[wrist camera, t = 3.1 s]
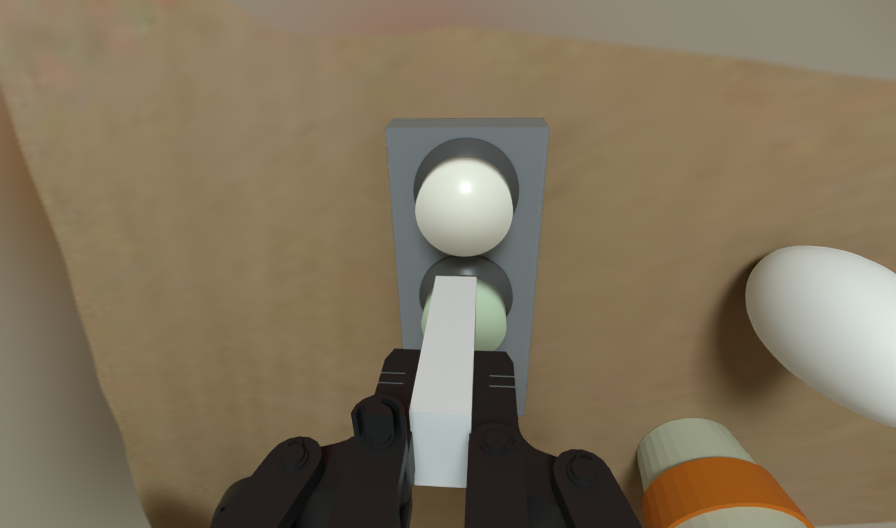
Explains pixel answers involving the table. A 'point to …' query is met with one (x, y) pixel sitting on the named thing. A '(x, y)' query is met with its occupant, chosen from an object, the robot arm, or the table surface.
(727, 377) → the table surface
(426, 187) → the cream button
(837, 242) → the table surface
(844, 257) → the sauce bottle
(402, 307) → the button panel
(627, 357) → the table surface
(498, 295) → the sage button
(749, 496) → the reusable coffee cup
